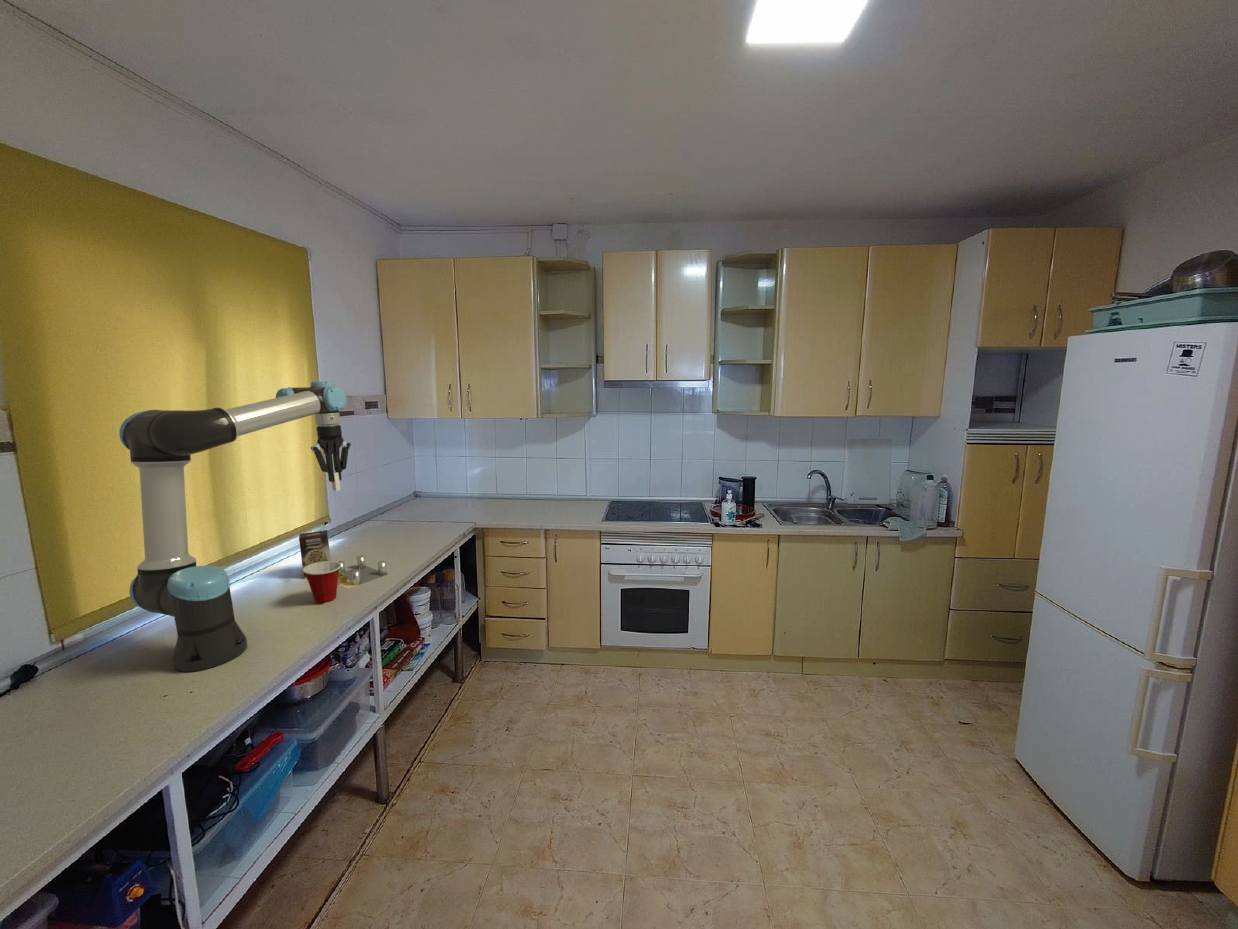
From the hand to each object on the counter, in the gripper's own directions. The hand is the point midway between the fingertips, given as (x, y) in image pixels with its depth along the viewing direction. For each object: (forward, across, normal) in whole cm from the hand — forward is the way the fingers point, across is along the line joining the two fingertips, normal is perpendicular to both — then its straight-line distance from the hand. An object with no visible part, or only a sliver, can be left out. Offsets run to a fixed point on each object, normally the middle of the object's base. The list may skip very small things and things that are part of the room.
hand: (336, 490), depth 177 cm
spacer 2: (+32, -3, -13) cm, 35 cm away
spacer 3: (+32, +6, 0) cm, 33 cm away
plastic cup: (+33, -15, -17) cm, 40 cm away
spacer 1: (+32, -2, +1) cm, 32 cm away
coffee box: (+33, -6, +9) cm, 34 cm away
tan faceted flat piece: (+32, -5, -6) cm, 33 cm away
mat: (+32, +1, -6) cm, 33 cm away
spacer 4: (+32, +7, -12) cm, 35 cm away
